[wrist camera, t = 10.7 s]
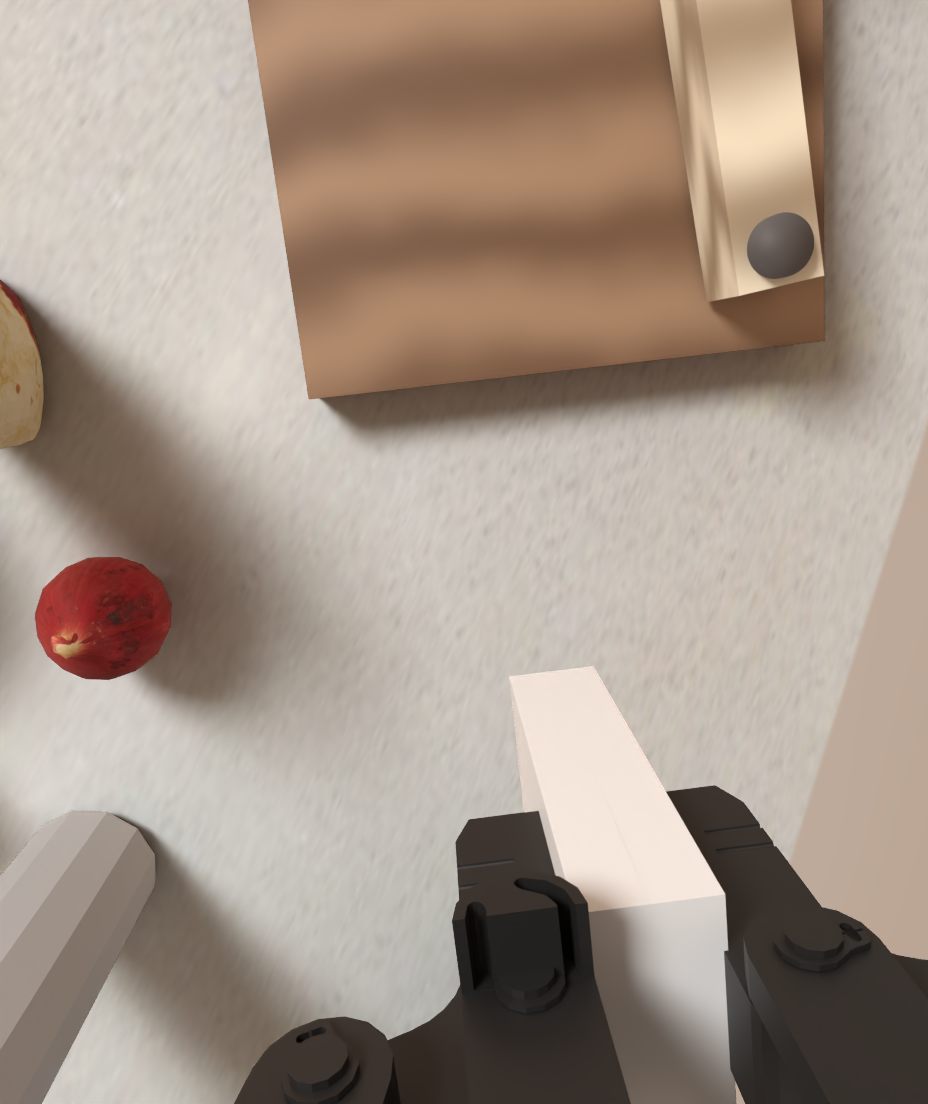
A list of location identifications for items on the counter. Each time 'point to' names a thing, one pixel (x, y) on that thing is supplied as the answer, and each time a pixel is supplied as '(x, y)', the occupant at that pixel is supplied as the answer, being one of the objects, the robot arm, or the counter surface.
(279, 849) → the counter surface
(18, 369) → the food model
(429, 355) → the brown flat square block
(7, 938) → the water bottle
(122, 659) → the onion
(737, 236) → the folding leg
